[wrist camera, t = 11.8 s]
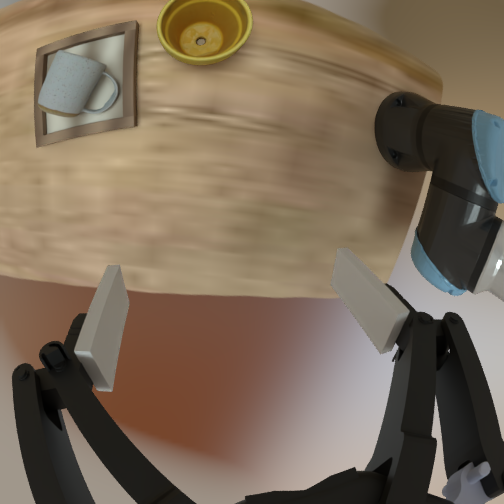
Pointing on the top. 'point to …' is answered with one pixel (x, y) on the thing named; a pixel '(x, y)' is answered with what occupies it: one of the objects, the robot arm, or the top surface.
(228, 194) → the top surface
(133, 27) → the coaster tray
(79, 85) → the ceramic mug
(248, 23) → the plant pot
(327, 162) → the top surface
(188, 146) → the top surface
